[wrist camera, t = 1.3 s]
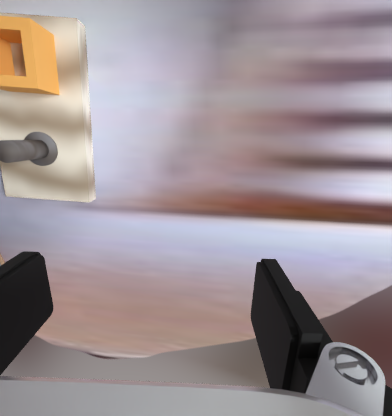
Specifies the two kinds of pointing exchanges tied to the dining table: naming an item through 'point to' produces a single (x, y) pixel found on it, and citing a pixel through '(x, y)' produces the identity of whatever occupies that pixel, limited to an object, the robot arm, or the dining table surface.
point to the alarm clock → (1, 260)
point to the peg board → (50, 124)
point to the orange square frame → (28, 57)
